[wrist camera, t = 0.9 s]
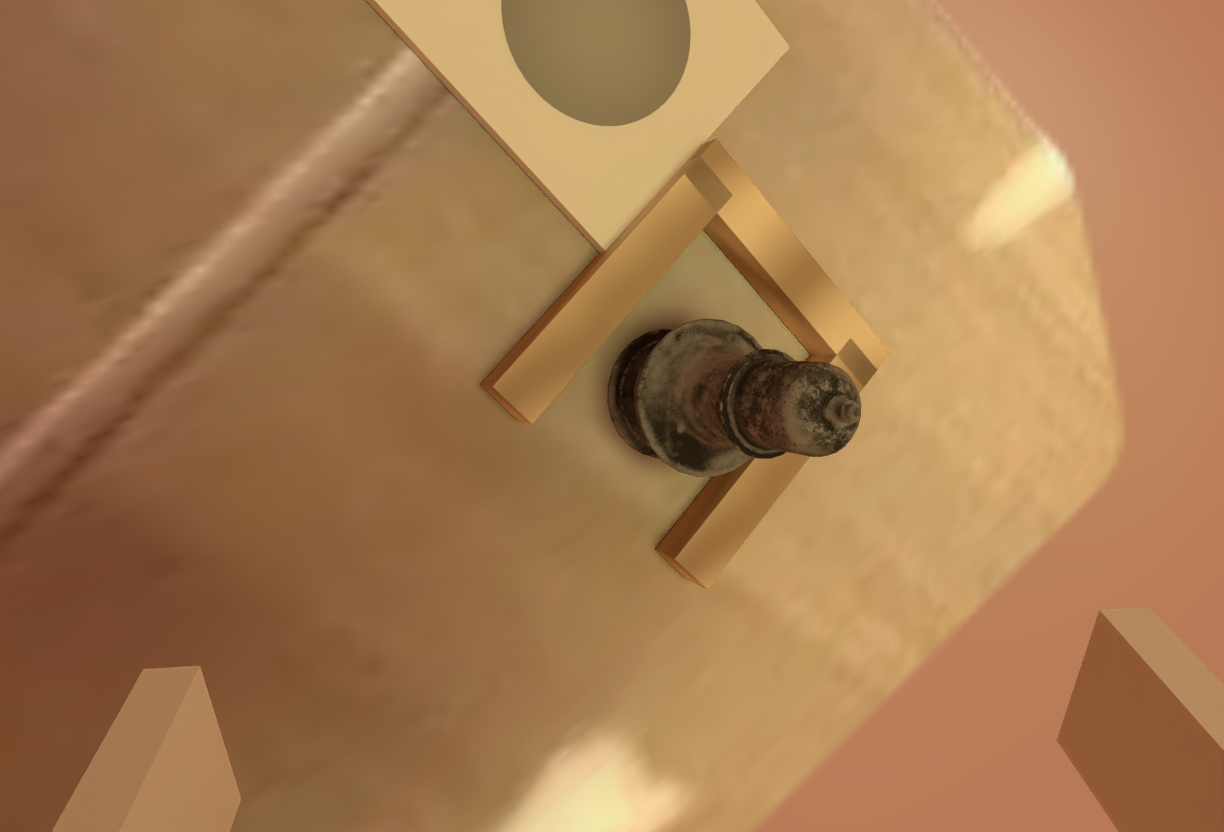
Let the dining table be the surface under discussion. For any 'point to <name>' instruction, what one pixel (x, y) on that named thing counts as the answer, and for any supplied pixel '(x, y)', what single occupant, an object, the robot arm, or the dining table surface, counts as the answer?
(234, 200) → the dining table surface
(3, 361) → the dining table surface
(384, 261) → the dining table surface
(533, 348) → the block
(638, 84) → the cream square board
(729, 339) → the salt shaker
